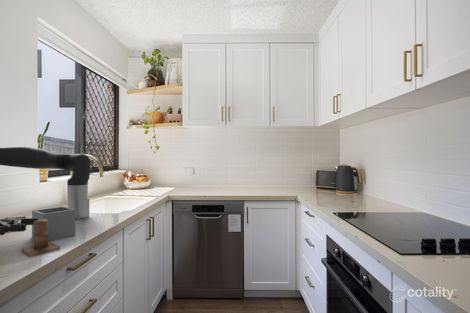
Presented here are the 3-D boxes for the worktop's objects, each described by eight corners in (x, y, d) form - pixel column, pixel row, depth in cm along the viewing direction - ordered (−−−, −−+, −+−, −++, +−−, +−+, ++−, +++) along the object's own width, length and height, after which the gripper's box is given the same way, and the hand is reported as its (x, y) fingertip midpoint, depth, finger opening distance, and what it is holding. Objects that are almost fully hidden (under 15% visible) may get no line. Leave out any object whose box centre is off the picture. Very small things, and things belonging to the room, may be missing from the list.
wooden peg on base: (49, 245, 94) (49, 216, 94) (59, 249, 90) (59, 220, 90) (21, 251, 88) (21, 221, 88) (30, 257, 83) (30, 225, 83)
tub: (62, 230, 112) (63, 206, 112) (75, 235, 105) (75, 209, 105) (31, 237, 103) (32, 210, 103) (43, 242, 96) (43, 214, 96)
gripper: (-45, 221, 76) (21, 217, 81) (-14, 211, 90) (41, 208, 95) (-45, 246, 76) (21, 242, 81) (-15, 233, 90) (40, 229, 95)
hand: (31, 224), depth 88 cm, fingers open, 8 cm apart
